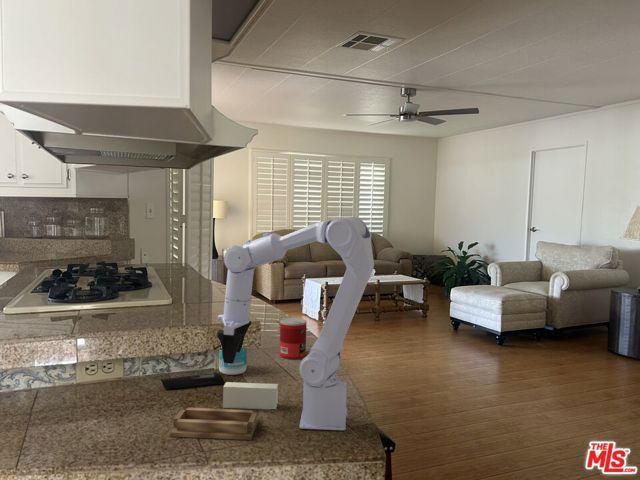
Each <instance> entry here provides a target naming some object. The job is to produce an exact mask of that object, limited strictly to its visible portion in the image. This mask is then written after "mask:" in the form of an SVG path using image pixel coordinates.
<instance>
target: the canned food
mask: <svg viewBox="0 0 640 480" xmlns="http://www.w3.org/2000/svg"><path fill="white" fill-rule="evenodd" d="M306 345H307V320H306V319H304V318H300V317H284V318H282V319H280V323H279V356H280V357H281V358H283V359H286V360H303V359H304V358H305V357H306V354H307V352H306V351H307V346H306Z"/></svg>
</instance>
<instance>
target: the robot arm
mask: <svg viewBox="0 0 640 480" xmlns="http://www.w3.org/2000/svg"><path fill="white" fill-rule="evenodd" d="M314 242H319V243H321V244H328V245H330V247H331V248H332V249H333V250H334V251H335V252H336V253H337V254H338V255H339V256H340V257H341V259H342V261H343V263H344V265H345V267H346V269H345V272H344V275H343V277H342V279H341V282H340V284H339V287H338V288H337V289H338V290H337V292H336V294H335V297H334V299H333V302H332V304H331V307H330V309H329V312H328V314H327V317H326V319H325V322H324V324H323V326H322V329H321V331H320V334H319V336H318V338H317V339H316V341H315V342H314V343H313V345H312V347H311V348H310V351H309V352H308V354H307V355H305V357H304V358H302V359H301V362H300V364H299V366H298V367H299V375H300V377H301V379H302V380H303V386H302V392H303V393H302V394H303V395H302V411H301V417H300V421H299V429H302V430H303V429H305V430H326V431H327V430H329V431H346V429H347V428H346V424H347V423H346V422H347V418H348V408H347V395H348V394H347V392H348V391H347V390H348V389H347V382H346V381H341V380H339V379H338V375H337V371H338V370H339V369H340V367H341V364H342V353H343V352H342V351H343V349H344V344H343V343H344V339H345V338H346V335H347V332H348V330H349V328H350V325H351V323H352V322H353V321H352V320H353V318H354V316H355V314H356V311H357V308H358V306H359V303H360V302H361V300H362V297H363V295H364V293H365V289H366V288H367V284H368V283H369V280H370V279H371V278H370V277H371V275H372V273H373V271H374V266H375V262H374V261H375V260H374V255H373V247H372V232H370V229H369V228H368V226H367V224H366V223H365V221H363V219H361V218H359V217H354V216H351V217H337V218H334V219H331V220H330V219H329V220H324V221H317V222H316V223H313V224H310V225H308V226H306V227H303V228H300V229H298V230H295V231H292V232H290V233H287V234H285V235H283V236H282V235H280V234H277V233H276V232H275V233H274V232H273V233H271V232H265V233H263V234H262V236H261V237H259V238H256V239H253V240H251V239H247V240H245V241H244V244H242V245H237V244H236V245H232V246H231V247H230V248H228V249H227V250H226V251H225V252H224V253H225V254H224V256H223V262H224V266H225V267H226V269H227V275H226V285H225V296H224V303H223V304H224V306H223V314H219V315H217V319H218V321H219V320H220V321H222V323H223V325H224V327H223V329H218V330H217V332H216V335H217V338H218V341H220V344H221V348H222V356H223V362H224V363H230V364H233V362H234V360H235V357H236V353H237V352H239V353H240V351H241V348H242V345H243V341H244V338H245V335H246V334H247V332H248V330H249V328H250V326H251V325H252V321H251V320H250V310H251V304H252V303H251V301H252V291H253V282H254V274H255V269H256V268H258V267H261V266H263V265H267V264H268V263H269V264H270V263H272V262H275V261H280V260H282V259H284V257H285V255H286V253H287V251H288V250H289V251H290V250H293V249H295V248H298V247H301V246H305V245H309V244H312V243H314Z"/></svg>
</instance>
